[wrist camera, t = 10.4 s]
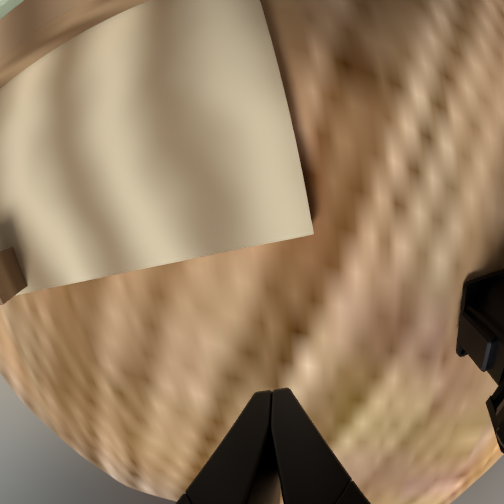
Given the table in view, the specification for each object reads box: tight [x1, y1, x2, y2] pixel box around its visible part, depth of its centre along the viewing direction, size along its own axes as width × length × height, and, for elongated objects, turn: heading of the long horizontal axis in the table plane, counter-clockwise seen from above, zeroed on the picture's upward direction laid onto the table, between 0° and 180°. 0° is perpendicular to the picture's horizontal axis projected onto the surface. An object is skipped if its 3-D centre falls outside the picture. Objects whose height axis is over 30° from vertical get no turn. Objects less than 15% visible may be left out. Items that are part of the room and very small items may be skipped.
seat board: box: [0, 0, 314, 305], centre depth 14 cm, size 23×21×4 cm
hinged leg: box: [0, 0, 149, 88], centre depth 11 cm, size 16×4×4 cm, turn 105°
